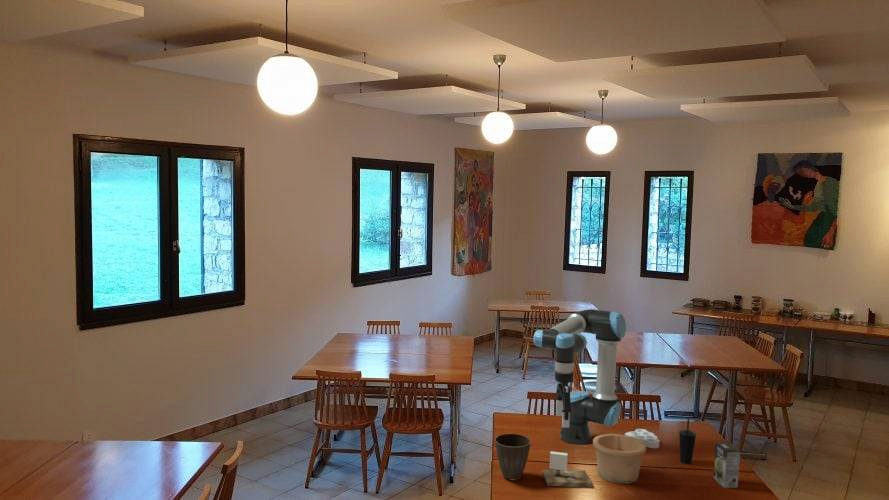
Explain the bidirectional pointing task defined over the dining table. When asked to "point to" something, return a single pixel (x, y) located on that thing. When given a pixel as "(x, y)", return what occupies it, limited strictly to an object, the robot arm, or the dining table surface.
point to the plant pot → (512, 454)
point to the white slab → (559, 462)
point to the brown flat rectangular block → (567, 478)
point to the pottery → (618, 457)
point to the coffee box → (726, 464)
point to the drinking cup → (686, 444)
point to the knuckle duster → (645, 437)
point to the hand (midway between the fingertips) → (562, 421)
